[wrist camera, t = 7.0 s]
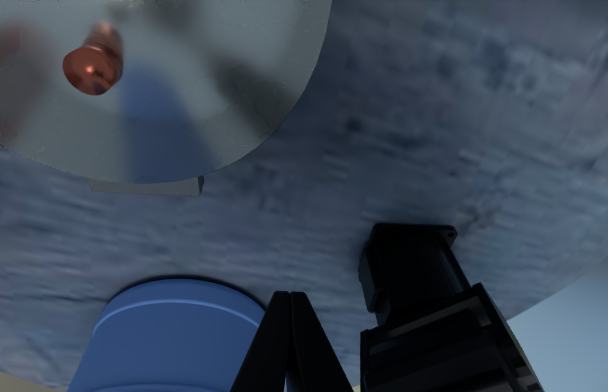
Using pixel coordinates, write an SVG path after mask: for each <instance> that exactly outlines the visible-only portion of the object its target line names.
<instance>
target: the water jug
mask: <svg viewBox="0 0 608 392" xmlns="http://www.w3.org/2000/svg"><path fill="white" fill-rule="evenodd" d="M264 314H265V311H264V310H263V309H262V308H261V307H260V306H259V305H258V304H257V303H256V302H255V301H253V300H252V299H251V298H249V297H247V296H246V295H244V294H242V293H240V292H238V291H236V290H234V289H231V288H229V287H226V286H223V285H220V284H216V283H212V282H207V281H201V280H192V279H166V280H158V281H152V282H148V283H144V284H140V285H137V286H135V287H132V288H130V289H128V290H126V291H124V292H122V293H120V294H119V295H117V296H116V297H115V298H114V299H112V300H111V301H110V302H109V303H108V304H107V306H106V307H105V308H104V310H103V311H102V313H101V315H100V317H99V319H98V321H97V324H96V326H95V328H94V330H93V333H92V339H91V341H90V343H89V345H88V347H87V349H86V352H85V354H84V356H83V358H82V360H81V362H80V364H79V366H78V369H77V371H76V373H75V375H74V377H73V379H72V381H71V383H70V386H69V388H68V390H67V392H230V389H231V387H232V385H233V383H234V380H235V378H236V376H237V374H238V372H239V369H240V367H241V365H242V363H243V360H244V358H245V356H246V354H247V351H248V349H249V347H250V345H251V343H252V340H253V338H254V336H255V334H256V331H257V329H258V327H259V325H260V322H261V320H262V318H263V316H264Z"/></svg>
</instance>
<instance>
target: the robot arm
mask: <svg viewBox="0 0 608 392" xmlns="http://www.w3.org/2000/svg"><path fill="white" fill-rule="evenodd" d="M380 230H382V231H380ZM456 236H457V231H456V229H455V228H454V227H446V226H419V225H392V224H378V225H376V226H375V227H374V228H373V231H372V234H371V237H370V240H369V244H368V247H366V248H365V249H364V251H363V254H362V258H361V261H360V264H359V268H358V271H359V281H360V282H361V284H362V288H363V293H364V297H365V301H366V306H367V310H368V311H369V312H370V313H375V315H376V319H377V323H378V326H377V327H375V328H373V329H370V330H368V329H367V330H364V331H362V332H361V333H360V390H361V392H544V390H543V388H542V386H541V384H540V382H539V380H538V378H537V376H536V375H535V373H534V370H533V369H532V367H531V365H530V363H529V361H528V359H527V357H526V355H525V353H524V351H523V349H522V347H521V346H520V344H519V342H518V340H517V339H516V337H515V335H514V334H513V332H512V330H511V329H510V327H509V325H508V324H507V322H506V320H505V319H504V317H503V315H502V314H501V312H500V311H499V309H498V308H497V306H496V305H495V303H494V301H493V300H492V298H491V297H490V295H489V294H488V292H487V291H486V289H485V288H484V286H483V285H482V283H481V282H479V283H477V284H475V285H472V286H473V287H471V286H470V284H469V282H468V280H467V278H466V276H465V275H464V273H463V271H462V269H461V267H460V265H459V263H458V262H457V260H456V258H455V256H454V254H453V252H452V250H451V249H450V248H451V246H452V244H453V242H454V240H455V238H456ZM285 378H286V385H287V392H354V391H353V389H352V387H351V385H350V383H349V381H348V379H347V377H346V375H345V373H344V371H343V369H342V367H341V365H340V363H339V360H338V358H337V356H336V354H335V352H334V350H333V348H332V346H331V344H330V342H329V340H328V338H327V336H326V334H325V332H324V330H323V328H322V326H321V324H320V322H319V320H318V318H317V316H316V314H315V312H314V309H313V307H312V305H311V303H310V301H309V299H308V297H307V295H306V294H305V293H304V292H295V291H292V292H290V293H289V292H288V291H275V292H274V294H273V296H272V298H271V300H270V302H269V305H268V307H267V309H266V311H265V314H264V316H263V318H262V320H261V322H260V325H259V327H258V329H257V331H256V334H255V336H254V338H253V340H252V343H251V345H250V347H249V349H248V351H247V354H246V356H245V358H244V360H243V363H242V365H241V367H240V369H239V372H238V374H237V376H236V378H235V380H234V383H233V385H232V387H231V389H230V392H284V385H285Z"/></svg>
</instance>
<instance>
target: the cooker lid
mask: <svg viewBox="0 0 608 392" xmlns="http://www.w3.org/2000/svg"><path fill="white" fill-rule="evenodd" d="M331 4H332V0H0V146H2V147H4V148H6V149H8V150H10V151H12V152H14V153H17V154H19V155H21V156H23V157H25V158H27V159H30V160H33V161H35V162H38V163H41V164H43V165H46V166H49V167H51V168H54V169H57V170H60V171H64V172H68V173H71V174H75V175H78V176H82V177H87V178H92V179H97V180H102V181H108V182H118V183H129V184H158V183H167V182H176V181H182V180H186V179H190V178H195V177H199V176H202V175H205V174H208V173H210V172H213V171H216V170H219V169H221V168H223V167H225V166H227V165H229V164H231V163H233V162H235V161H237V160H239V159H241V158H242V157H243V156H245V155H246V154H248V153H249V152H251V151H252V150H253V149H255V148H256V147H258V146H259V145H260V144H261V143H262V142H263V141H264V140H266V139H267V138H268V137H269V136H270V135H271V134H272V133H273V132H274V131H275V130H276V129H277V128H278V127H279V126H280V124H281V123H282V122H283V121H284V119H285V118H286V117H287V116H288V115H289V113H290V112H291V111H292V109H293V108H294V106H295V104H296V103H297V101H298V100H299V98H300V96H301V95H302V93H303V92H304V90H305V88H306V86H307V84H308V81H309V79H310V77H311V75H312V73H313V70H314V68H315V66H316V64H317V61H318V58H319V54H320V51H321V48H322V45H323V42H324V38H325V35H326V31H327V25H328V20H329V15H330V9H331Z"/></svg>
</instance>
